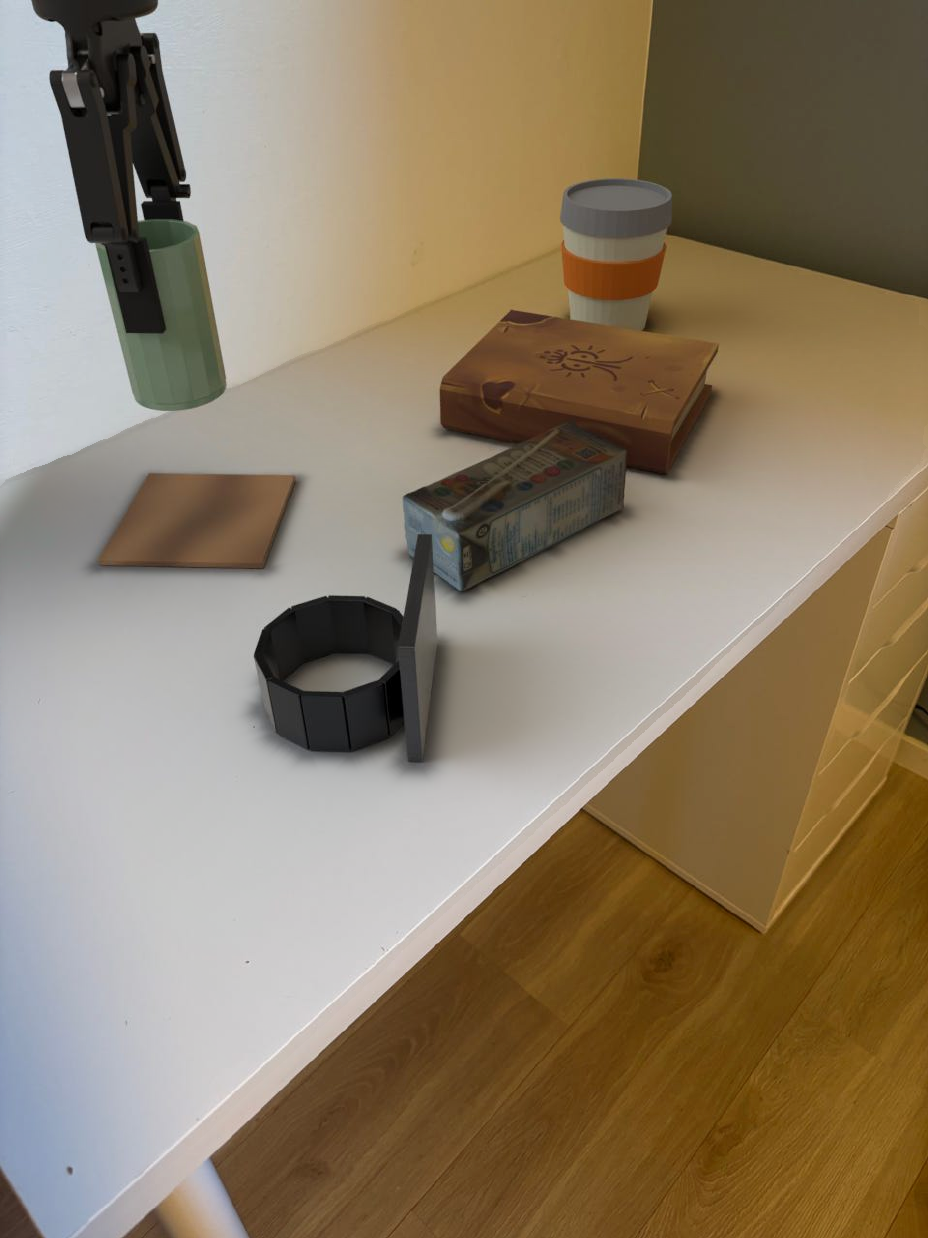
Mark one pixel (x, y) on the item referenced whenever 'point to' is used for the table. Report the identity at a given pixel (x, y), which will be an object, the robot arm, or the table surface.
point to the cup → (173, 323)
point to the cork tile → (200, 521)
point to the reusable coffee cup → (613, 248)
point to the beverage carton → (516, 503)
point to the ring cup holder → (355, 630)
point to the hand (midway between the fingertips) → (162, 308)
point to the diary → (580, 385)
